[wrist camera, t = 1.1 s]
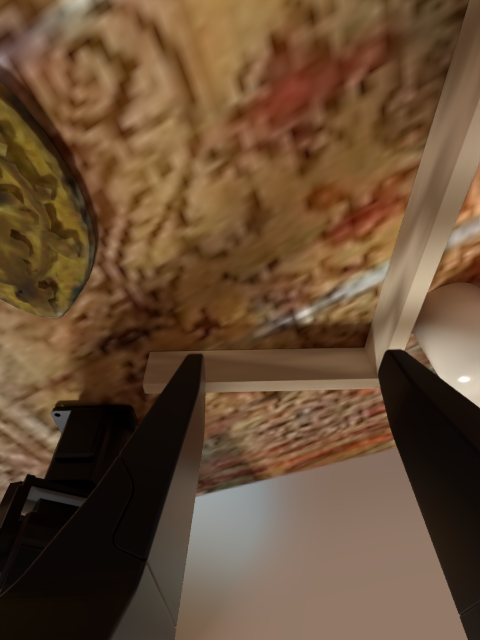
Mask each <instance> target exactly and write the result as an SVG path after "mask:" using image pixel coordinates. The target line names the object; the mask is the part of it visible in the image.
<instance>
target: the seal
mask: <svg viewBox="0 0 480 640" xmlns="http://www.w3.org/2000/svg"><path fill="white" fill-rule="evenodd" d="M94 254H95V235H94V230H93V226H92V223H91V220H90V217H89V214H88V211H87V208H86V205H85V202H84V199H83V196H82V193H81V191H80V190H79V187H78V184H77V182H76V180H75V179H74V177H73V175H72V173H71V171H70V169H69V167H68V166H67V164H66V163H65V162H64V160H63V159H62V158H61V156H60V155H59V153H58V151H57V150H56V148H55V146H54V145H53V143H52V142H51V140H50V139H49V137H48V136H47V134H46V133H45V132H44V130H43V129H42V127H41V126H40V125H39V124H38V123H37V121H36V120H35V119H34V118H33V117H32V116H31V114H30V113H29V112H28V111H27V110H26V109H25V108H24V106H23V105H22V104H21V103H20V101H19V100H18V98H17V97H16V96H15V95H14V94H13V93H12V92H11V91H10V90H8V89H7V88H6V87H5V86H4V85H3V84H2V83H1V82H0V299H2V300H4V301H5V302H7V303H9V304H11V305H13V306H15V307H16V308H18V309H20V310H22V311H26V312H29V313H32V314H35V315H38V316H42V317H49V318H60V317H62V316H63V315H64V314H65V313H66V312H67V311H68V310H69V308H70V307H71V305H72V304H73V302H74V301H75V299H76V298H77V297H78V295H79V294H80V292H81V291H82V290H83V288H84V287H85V285H86V283H87V281H88V279H89V276H90V273H91V270H92V266H93V261H94Z"/></svg>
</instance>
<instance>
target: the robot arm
mask: <svg viewBox="0 0 480 640" xmlns="http://www.w3.org/2000/svg"><path fill="white" fill-rule="evenodd" d="M378 380H379V384H380V388H381V392H382V396H383V400H384V405H385V409H386V413H387V417H388V421H389V425H390V428H391V431H392V434H393V437H394V440H395V443H396V446H397V448H398V451H399V454H400V456H401V459H402V462H403V464H404V467H405V470H406V473H407V475H408V478H409V481H410V483H411V486H412V489H413V491H414V494H415V497H416V500H417V502H418V505H419V507H420V510H421V513H422V516H423V518H424V521H425V524H426V527H427V529H428V532H429V535H430V537H431V540H432V543H433V546H434V548H435V551H436V554H437V556H438V559H439V562H440V564H441V567H442V570H443V573H444V575H445V578H446V580H447V583H448V586H449V589H450V591H451V594H452V597H453V600H454V602H455V605H456V608H457V610H458V613H459V615H460V619H461V622H462V624H463V627H464V630H465V633H466V636H467V638H468V640H480V407H478V406H477V405H476V404H474V403H473V402H472V401H470V400H469V399H468V398H466V397H465V396H464V395H462V394H461V393H460V392H458V391H457V390H456V389H454V388H453V387H452V386H450V385H449V384H448V383H447V382H445V381H444V380H443V379H441V378H440V377H439V376H437V375H436V374H435V373H433V372H432V371H431V370H429V369H428V368H427V367H425V366H424V365H423V364H421V363H420V362H419V361H417V360H416V359H415V358H413V357H412V356H411V355H409V354H408V353H407V352H405V351H404V350H402V349H388V350H386V351H385V353H384V355H383V358H382V361H381V364H380V367H379V370H378ZM205 387H206V377H205V364H204V355H203V354H202V353H191V354H188V355H187V356H186V357H185V359H184V360H183V362H182V363H181V364H180V366H179V367H178V369H177V370H176V372H175V373H174V375H173V376H172V378H171V379H170V381H169V382H168V383H167V385H166V386H165V388H164V389H163V391H162V392H161V394H160V395H159V397H158V398H157V400H156V401H155V403H154V404H153V405H152V407H151V408H150V410H149V411H148V413H147V414H146V416H145V417H144V419H143V420H142V422H141V423H140V424H139V426H138V422H137V419H136V415H135V412H134V409H133V407H131V406H127V405H123V406H81V407H55V408H53V410H52V413H51V416H52V417H53V419H54V421H55V423H56V425H57V427H58V429H59V431H60V432H61V437H60V439H59V442H58V444H57V447H56V449H55V452H54V455H53V458H52V460H51V463H50V465H49V468H48V470H47V473H46V475H45V478H44V479H41V478H37V477H35V475H30V474H27V476H26V478H25V480H24V481H23V482H22V481H20V482H15V483H10V485H9V487H8V489H7V491H6V493H5V495H4V497H3V499H2V501H1V504H0V640H175V633H176V628H175V627H176V625H177V619H178V612H179V606H180V599H181V591H182V585H183V578H184V571H185V564H186V557H187V551H188V544H189V537H190V530H191V523H192V516H193V510H194V503H195V496H196V489H197V482H198V475H199V469H200V462H201V455H202V448H203V441H204V430H205ZM21 513H26V515H25V516H22V515H21Z"/></svg>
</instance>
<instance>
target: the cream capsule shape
mask: <svg viewBox="0 0 480 640" xmlns="http://www.w3.org/2000/svg"><path fill="white" fill-rule="evenodd" d="M412 333H413V335H414V336H415V338H416V340H417V341H418V343H419V345H420V346H421V348H422V349H423V351H424V353H425V354H426V356H427V358H428V359H429V361H430V362H431V364H432V366H433V367H434V369H435V371H436V372H437V374H438V375H439V377H440V378H441V379H443V380H444V381H445V382H447V383H448V384H449V385H450V386H452V387H453V388H454V389H456V390H457V391H458V392H460V393H461V394H462V395H464V396H465V397H466V398H468V399H469V400H470V401H472V402H473V403H474V404H476V405H477V406H478V407H480V288H479V287H478V286H476V285H474V284H471V283H465V282H459V283H451V284H447V285H444V286H441V287H439V288H437V289H435V290H433V291H431V292H429V293H428V294H427V295H426V297H425V299H424V302H423V304H422V307H421V309H420V312H419V314H418V317H417V319H416V322H415V324H414V327H413V329H412Z"/></svg>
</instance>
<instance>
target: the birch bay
mask: <svg viewBox="0 0 480 640" xmlns="http://www.w3.org/2000/svg"><path fill="white" fill-rule="evenodd" d="M479 162H480V0H470V1H469V4H468V7H467V10H466V14H465V17H464V20H463V24H462V27H461V30H460V34H459V37H458V40H457V43H456V47H455V50H454V53H453V57H452V60H451V63H450V67H449V70H448V73H447V76H446V80H445V83H444V86H443V90H442V93H441V96H440V99H439V103H438V106H437V109H436V113H435V116H434V119H433V123H432V126H431V129H430V132H429V136H428V139H427V142H426V146H425V149H424V152H423V156H422V159H421V162H420V165H419V169H418V172H417V175H416V179H415V182H414V185H413V189H412V192H411V195H410V198H409V202H408V205H407V208H406V212H405V215H404V218H403V222H402V225H401V228H400V231H399V235H398V238H397V241H396V245H395V248H394V251H393V255H392V258H391V261H390V264H389V268H388V271H387V274H386V278H385V281H384V284H383V287H382V291H381V294H380V297H379V301H378V304H377V307H376V311H375V314H374V317H373V320H372V324H371V327H370V330H369V334H368V337H367V340H366V344H365V347H362V348H312V349H263V350H213V351H164V352H150V354H149V358H148V362H147V367H146V371H145V375H144V380H143V388H144V392H145V394H161V392H162V391H163V389H164V388H165V386H166V385H167V383H168V382H169V381H170V379H171V378H172V376H173V375H174V373H175V372H176V370H177V369H178V367H179V366H180V364H181V363H182V362H183V360H184V359H185V357H186V356H187V355H188V354H191V353H202V354H203V355H204V364H205V377H206V387H205V392H247V391H290V390H332V389H375V388H380V384H379V380H378V370H379V367H380V364H381V361H382V358H383V355H384V353H385V351H386V350H388V349H402V350H404V349H405V347H406V344H407V342H408V339H409V337H410V334H411V332H412V329H413V327H414V324H415V322H416V319H417V317H418V314H419V312H420V309H421V307H422V304H423V302H424V299H425V297H426V294H427V292H428V289H429V287H430V284H431V282H432V279H433V277H434V274H435V272H436V269H437V267H438V264H439V262H440V259H441V257H442V254H443V252H444V249H445V247H446V245H447V242H448V240H449V237H450V235H451V232H452V230H453V227H454V225H455V222H456V220H457V217H458V215H459V212H460V210H461V207H462V205H463V202H464V200H465V197H466V195H467V192H468V190H469V187H470V185H471V182H472V180H473V177H474V175H475V172H476V170H477V167H478V165H479Z"/></svg>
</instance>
